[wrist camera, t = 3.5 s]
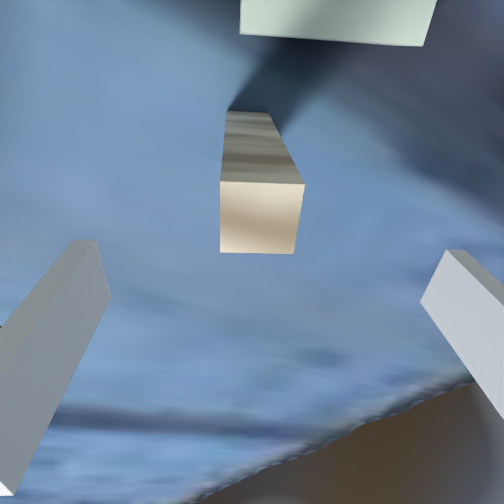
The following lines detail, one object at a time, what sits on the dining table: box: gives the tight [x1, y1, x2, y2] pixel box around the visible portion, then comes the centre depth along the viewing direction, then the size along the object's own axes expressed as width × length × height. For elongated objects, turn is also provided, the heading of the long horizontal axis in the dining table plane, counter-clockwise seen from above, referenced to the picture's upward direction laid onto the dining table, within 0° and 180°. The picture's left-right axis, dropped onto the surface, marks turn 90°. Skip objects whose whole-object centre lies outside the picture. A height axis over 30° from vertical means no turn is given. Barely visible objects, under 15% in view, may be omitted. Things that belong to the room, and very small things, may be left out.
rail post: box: [220, 111, 305, 254], centre depth 23 cm, size 4×4×18 cm
